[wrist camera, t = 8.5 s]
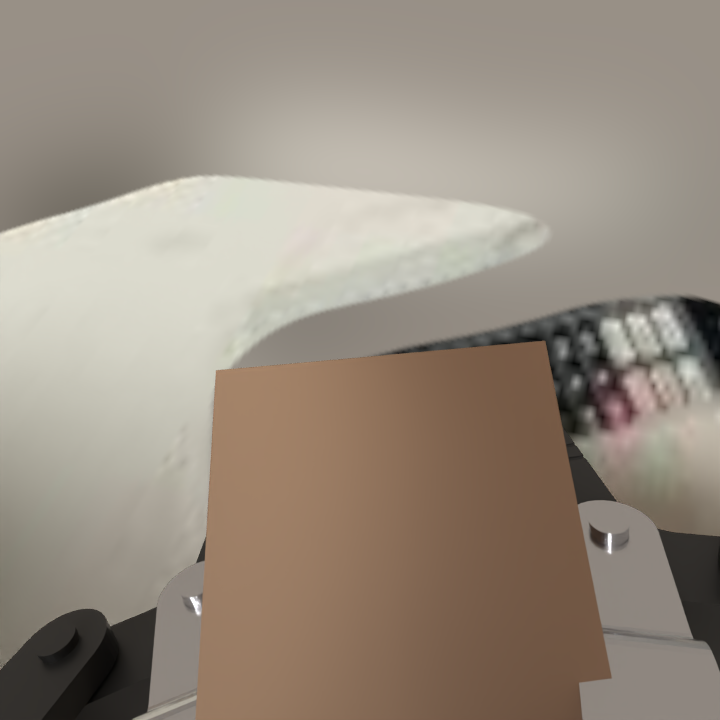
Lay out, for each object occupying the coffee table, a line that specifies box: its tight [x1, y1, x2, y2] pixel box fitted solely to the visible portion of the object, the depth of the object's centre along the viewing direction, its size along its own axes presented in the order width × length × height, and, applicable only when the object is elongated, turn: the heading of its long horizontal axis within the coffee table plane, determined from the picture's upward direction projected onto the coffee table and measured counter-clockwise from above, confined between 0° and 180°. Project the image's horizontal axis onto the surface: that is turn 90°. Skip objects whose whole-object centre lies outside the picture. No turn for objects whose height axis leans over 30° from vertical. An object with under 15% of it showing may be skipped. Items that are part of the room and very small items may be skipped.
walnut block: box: [195, 341, 612, 720], centre depth 11 cm, size 4×4×11 cm
